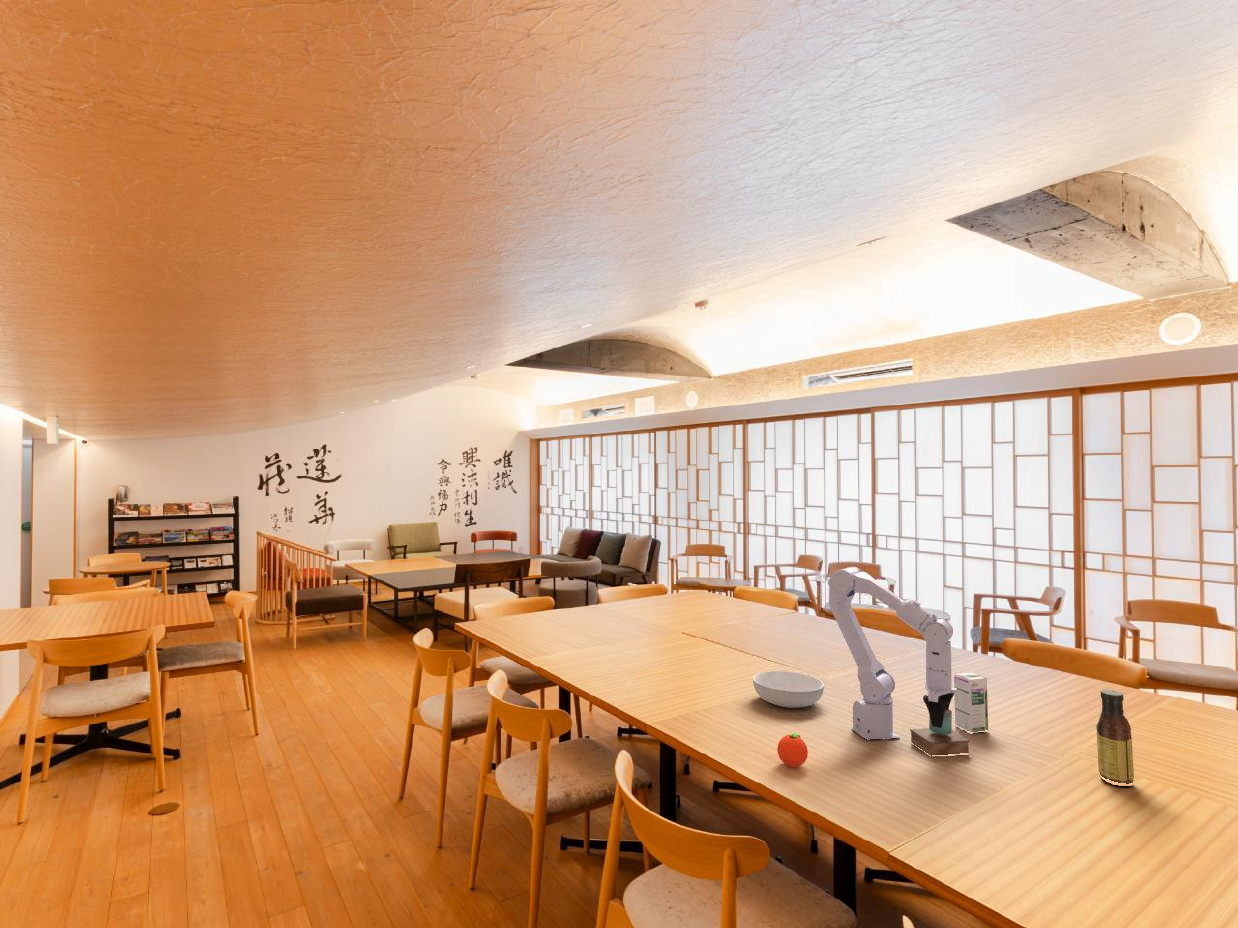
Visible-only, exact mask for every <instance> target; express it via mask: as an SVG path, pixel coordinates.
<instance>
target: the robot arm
mask: <svg viewBox="0 0 1238 928" xmlns="http://www.w3.org/2000/svg"><path fill="white" fill-rule="evenodd" d="M827 585H828V587H829V588H828V605H829V606H828V607H829V608H830V610H831V612H832V614H833V616H834V619H835V621H836V623H837V626H838V627H839V629H840V632H841V635H843V639H844V640H845V643H846V645H847V647H848V648H849V649H848V650H849V651H850V653H851V655H852V658H853V660H854V662H855V664H856V666H857V679H858V681H859V686H860V687H859V689H860V693H861V695H862V698H861V699H859V700H856V701H854V702H853V704H852V726H851V730H852V731H853V732H855V733H857V735H859V736H860V737H862V738H863V737H864V738H865V739H864V738H863V739H864V740H866V739H867V740H866V741H871V740H870V739H882V740H888V739H887V738H900V739H901V737H900V736H901V735H898V734H896V733H895V732H894V727H893V726H894V723H893V719H894V718H893V717H894V714H893V713H894V711H893V705H894V704H893V697H892V693H893V692H894V690H895V687H896V682H895V679H894V678H893V676H892V674H890V673H889V672H888V671H887V670H886V669H885V667H884V665H883V663H881V662H880V661H879V660H878V659H877V657H876V656H875V653H874V651H873V648H872V647H871V645H870V643H869V641H868V639H867V636H866V635H865V633H864V630H863V628H862V626H861V624H860V622H859V620H858V618H857V616H856V613H855V612H854V610H853V607H852V605H851V604H852V601H853V599H854V597H855V594H857V593H858V594H868V595H870V596H872V597H873V598H875V599H876V600H878V601H880V602H881V603H883V604H885V605H886V606H888V607H889V608H891V609H892V610H894V611H895V613H896V617H897V618H898V619H900V621H902V622H903V623H904V624H906V625H908V626H909V627H911V628H912V629H914V630H915V631H916V632H918V633H919V634H922V637H923V640H924V641H925V642H926V644H925V645H926V646H925V647H926V648H925V685H924V688H925V690H926V691H927V693H928V695H926V694H924V695H923V696H922V700H923V702H924V704H925V705H926V709H927V711H928V715H930V720H931V724H932V726H934V727H939V728H941V727H942V725H943V719H944V713H945V709H946V708H947V709H949V708H950V704H951V702H952V700H953V697H954V693H956V692H957V688H954V686H952V650H951V649H952V648H951V647H952V645H951V639H952V637H953V635H954V628H953V626H952V624H951V622H949V621H948V620H947V619H946V618H942V617H938V615H937V614H936V613H931V612H930V611H928V610H927V609H925V608H924V607H922V606H921V602H919V601H917V600H915V601H913V600H912V599H907V600H904V599H902V598H901V597H900V596H898V595H896V594H895V593H894V592H893V591H891V590H890V589H888V588H886V586H884V585H883V584H882V583H880V582H879V581H877V580H876V579H875V578H873V577H872V576H871V575H870V574H869V573H867V572H865V571H862V570H861V569H860V568H858V567H856V566H848V567H846V568H842V569H837V570H835V571H833V572H832V574H831V575H830V577H829V579H828V582H827ZM949 710H950V709H949ZM884 738H885V739H884Z"/></svg>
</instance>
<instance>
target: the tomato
mask: <svg viewBox="0 0 1238 928" xmlns="http://www.w3.org/2000/svg"><path fill="white" fill-rule="evenodd" d="M808 750H809V749H808V747H807V744H806V743H805V741H804V740H803V739H802V738H801V735H800V734H798V733H792V734H786V735H785V736H783V737H782V738H780V740H779V742H778V743H777V751H776V752H777V755H778V757H779V759H780V760H781V762H782V763H783V764H785V765H786V766H787V767H790V768H791V767H792V768H798V767H800V766H801V767H802V765H804V763H805V762H806V761H807V759H808V754H809V751H808Z"/></svg>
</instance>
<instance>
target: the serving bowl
mask: <svg viewBox="0 0 1238 928" xmlns="http://www.w3.org/2000/svg"><path fill="white" fill-rule="evenodd" d="M752 683H753V684H752V685H753V688H754V691H755V693H756V694H757V695H758V696H759V698H761V699H762V700H764V701H765V702H768V703H769V704H771V705H772V704H773V705H775V706H778V707H781V708H787V709H798V708H805V707H809V706H812V705H814V704H816V703H817V702H818V701H819V700H820V699H821V698H822V696H823V694H824V690H825V689H824V688H825V683H824V682H823V681H822V680H820V679H819V678H817V677H815V676H813V675H810V674H807V673H806V674H805V673H803V672H795V671H788V670H767V671H762V672H757V673H756V674H753V677H752Z"/></svg>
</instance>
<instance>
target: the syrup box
mask: <svg viewBox="0 0 1238 928" xmlns="http://www.w3.org/2000/svg"><path fill="white" fill-rule="evenodd" d="M953 688H957V692H956V693H954V696H953V697H954V726H955V725H957V726H959V727H961V728H963V729H966V730H967V731H970V732H978V731H985V730H988V731H989V713H988V711H989V707H988V679H987V677H986V676H982V675H980V674H977V673H975V672H968V673H967V672H966V673H956V674H955V673H954V674H953Z"/></svg>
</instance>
